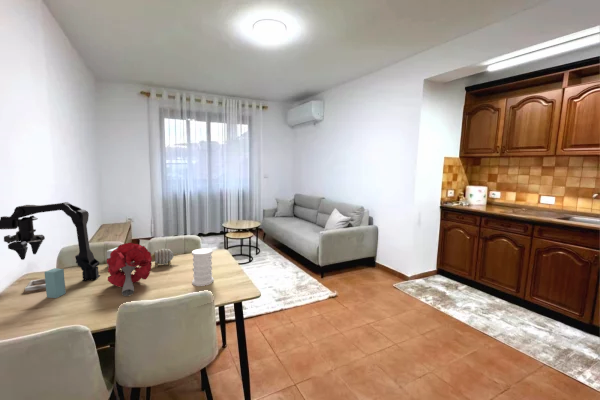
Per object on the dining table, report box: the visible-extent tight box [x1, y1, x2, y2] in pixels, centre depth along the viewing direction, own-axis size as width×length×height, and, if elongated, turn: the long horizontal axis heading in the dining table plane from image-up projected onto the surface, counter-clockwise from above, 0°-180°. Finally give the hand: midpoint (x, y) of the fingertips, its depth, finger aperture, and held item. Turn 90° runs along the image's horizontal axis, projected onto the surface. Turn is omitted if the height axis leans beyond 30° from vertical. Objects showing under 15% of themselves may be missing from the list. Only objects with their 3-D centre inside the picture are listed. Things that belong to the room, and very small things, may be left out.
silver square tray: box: [22, 278, 46, 295], centre depth 147 cm, size 12×12×3 cm
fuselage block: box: [44, 267, 66, 299], centre depth 138 cm, size 5×5×13 cm
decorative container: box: [191, 247, 215, 287], centre depth 157 cm, size 12×12×18 cm
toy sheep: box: [151, 248, 179, 268], centre depth 182 cm, size 11×17×11 cm, turn 127°
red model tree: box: [106, 242, 153, 297], centre depth 148 cm, size 22×24×30 cm
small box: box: [106, 246, 118, 267], centre depth 181 cm, size 8×6×10 cm
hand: (28, 256), depth 150 cm, fingers open, 9 cm apart
